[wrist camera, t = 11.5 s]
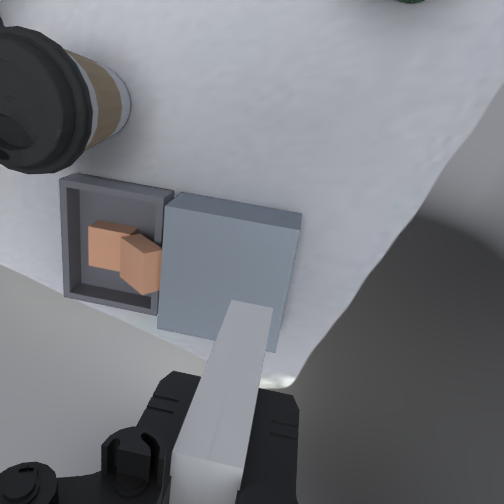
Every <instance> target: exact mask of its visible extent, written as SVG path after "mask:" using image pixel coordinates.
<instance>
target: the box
mask: <svg viewBox="0 0 504 504" xmlns="http://www.w3.org/2000/svg"><path fill="white" fill-rule="evenodd" d="M59 185H60V210H61V236H62V261H63V286H64V297H67V298H72V299H77V300H82V301H86V302H91V303H96V304H101V305H106V306H111V307H116V308H120V309H125V310H130V311H135V312H140V313H145V314H150V315H155V316H157V314H158V307H159V292H160V290H159V291H155V292H152V293H148V294H145V295H141V294H140V293H139V292H138V291H137V290H135V289H134V288H133V287H132V286H131V285H129V284H128V283H127V282H126V281H125V280H123V279H122V278H121V277H120V272H119V271H114V270H109V269H104V268H99V267H94V266H89V252H88V226H90V225H91V224H93V223H95V222H96V221H98V220H101V221H106V222H112V223H117V224H122V225H127V226H132V227H137V228H139V229H138V234H142V235H143V236H145V237H146V238H148V239H149V240H151V241H152V242H154V243H155V244H157V245H158V246H160V247H161V248H162V245H163V230H164V214H165V205H167V204H168V203H169V202H170V201H172V200H173V199H174V191H173V190H168V189H162V188H157V187H151V186H146V185H140V184H135V183H129V182H124V181H118V180H112V179H107V178H101V177H96V176H90V175H85V174H79V173H75V174H72V175H69V176H66V177H63V178H60V179H59Z"/></svg>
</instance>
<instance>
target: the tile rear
mask: <svg viewBox="0 0 504 504" xmlns="http://www.w3.org/2000/svg"><path fill="white" fill-rule="evenodd" d="M138 229H139V228H137V227H132V226H127V225H122V224H117V223H112V222H106V221H101V220H98V221H96V222H95V223H93V224H91V225H90V226H88V252H89V266H94V267H99V268H104V269H109V270H114V271H119V272H120V237H124V236H130V235H136V234H138Z"/></svg>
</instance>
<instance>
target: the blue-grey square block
mask: <svg viewBox="0 0 504 504" xmlns="http://www.w3.org/2000/svg"><path fill="white" fill-rule="evenodd" d="M301 216H302V214H300V213H295V212H289V211H284V210H278V209H273V208H267V207H262V206H256V205H251V204H245V203H240V202H234V201H229V200H223V199H217V198H212V197H206V196H201V195H195V194H190V193H184V192H182V193H181V194H179V195H178V196H177V197H176V198H174V199H173V200H172V201H170V202H169V203H168V204H167V205H165V214H164V230H163V245H162V261H161V276H160V292H159V307H158V323H157V329H162V330H167V331H171V332H176V333H181V334H186V335H191V336H195V337H200V338H205V339H210V340H215V341H216V339H217V336H218V333H219V331H220V328H221V326H222V323H223V321H224V318H225V315H226V313H227V310H228V308H229V305H230V303H231V300H235V301H240V302H245V303H250V304H255V305H260V306H265V307H270V308H273V313H272V318H271V324H270V329H269V334H268V340H267V345H266V351H268V352H272V353H275V352H276V347H277V342H278V337H279V332H280V327H281V322H282V317H283V312H284V308H285V303H286V298H287V293H288V288H289V283H290V278H291V273H292V268H293V263H294V258H295V253H296V248H297V244H298V239H299V234H300V227H301Z"/></svg>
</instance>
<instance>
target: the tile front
mask: <svg viewBox="0 0 504 504" xmlns="http://www.w3.org/2000/svg"><path fill="white" fill-rule="evenodd" d="M161 261H162V248H161V247H160V246H158V245H157V244H155V243H154V242H152V241H151V240H149V239H148V238H146V237H145V236H143V235H142V234H136V235H130V236H124V237H120V277H121V278H122V279H123V280H125V281H126V282H127V283H128V284H129V285H131V286H132V287H133V288H134V289H135V290H137V291H138V292H139V293H140V294H141V295H145V294H148V293H152V292H155V291H159V290H160V276H161Z"/></svg>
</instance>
